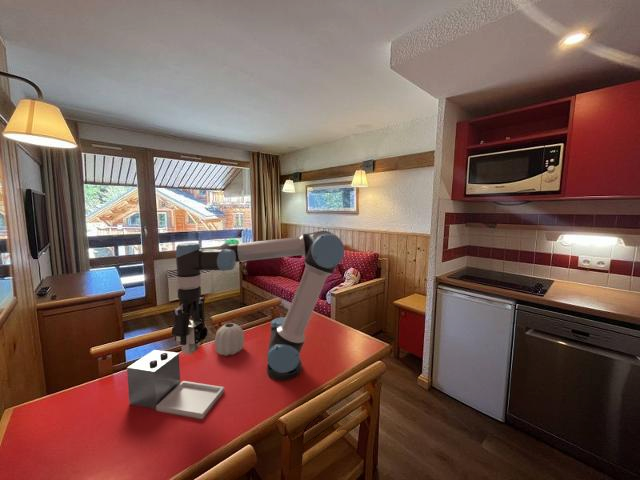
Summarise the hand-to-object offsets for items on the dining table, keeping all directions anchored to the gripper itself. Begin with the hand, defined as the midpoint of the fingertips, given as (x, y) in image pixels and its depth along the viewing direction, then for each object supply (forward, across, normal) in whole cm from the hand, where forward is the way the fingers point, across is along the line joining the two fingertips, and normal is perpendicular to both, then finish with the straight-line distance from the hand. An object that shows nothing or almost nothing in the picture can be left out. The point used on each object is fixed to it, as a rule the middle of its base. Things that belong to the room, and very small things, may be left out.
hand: (191, 347), depth 97 cm
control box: (+19, +3, -13) cm, 23 cm away
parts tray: (+19, +2, +2) cm, 19 cm away
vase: (+19, -31, -4) cm, 37 cm away
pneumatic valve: (+1, 0, 0) cm, 1 cm away
